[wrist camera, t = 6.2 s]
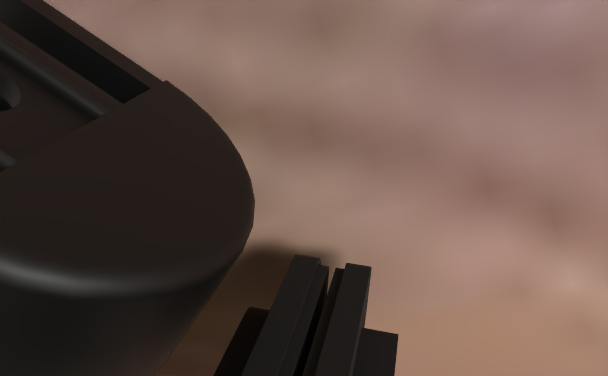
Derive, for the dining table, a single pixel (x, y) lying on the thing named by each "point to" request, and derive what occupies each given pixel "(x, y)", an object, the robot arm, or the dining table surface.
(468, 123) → the dining table surface
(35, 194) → the end cap
